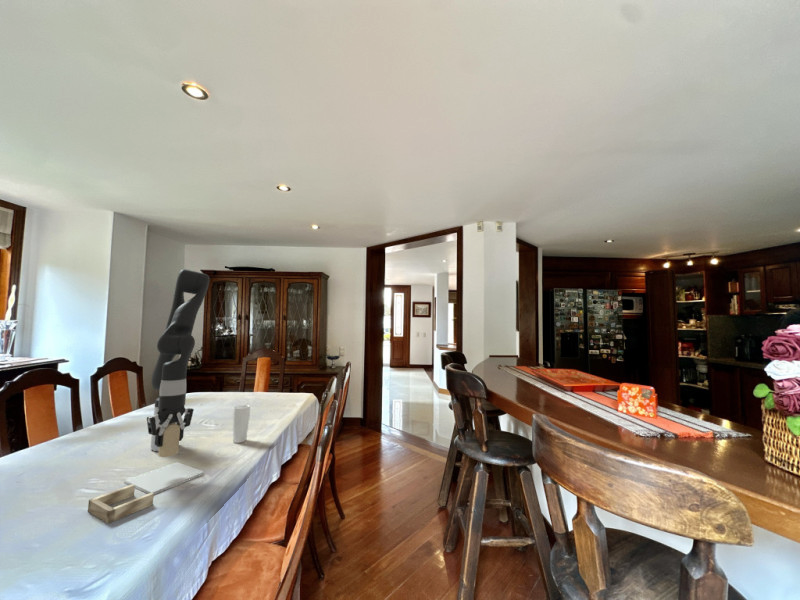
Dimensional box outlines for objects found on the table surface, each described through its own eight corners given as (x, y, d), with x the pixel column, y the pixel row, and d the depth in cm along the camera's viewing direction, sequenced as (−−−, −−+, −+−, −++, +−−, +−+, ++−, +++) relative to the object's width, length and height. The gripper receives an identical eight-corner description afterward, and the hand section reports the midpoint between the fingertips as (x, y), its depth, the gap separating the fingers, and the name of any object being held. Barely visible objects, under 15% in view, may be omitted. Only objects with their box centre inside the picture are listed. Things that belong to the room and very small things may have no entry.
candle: (164, 451, 111) (167, 421, 112) (181, 450, 112) (183, 421, 112) (154, 457, 106) (156, 426, 106) (172, 457, 106) (174, 426, 107)
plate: (124, 482, 104) (124, 480, 104) (176, 464, 118) (176, 462, 119) (151, 495, 97) (151, 492, 97) (203, 474, 111) (204, 471, 111)
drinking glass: (241, 444, 139) (243, 409, 140) (227, 443, 140) (230, 408, 142) (251, 439, 146) (253, 405, 147) (238, 437, 147) (240, 404, 148)
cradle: (108, 523, 83) (109, 511, 83) (87, 511, 88) (88, 499, 89) (152, 504, 92) (153, 493, 93) (131, 494, 97) (132, 484, 98)
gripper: (187, 388, 118) (184, 435, 117) (142, 395, 105) (138, 448, 104) (200, 390, 115) (197, 439, 114) (155, 397, 102) (151, 452, 101)
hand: (169, 443), depth 109 cm, fingers closed on candle, 5 cm apart
